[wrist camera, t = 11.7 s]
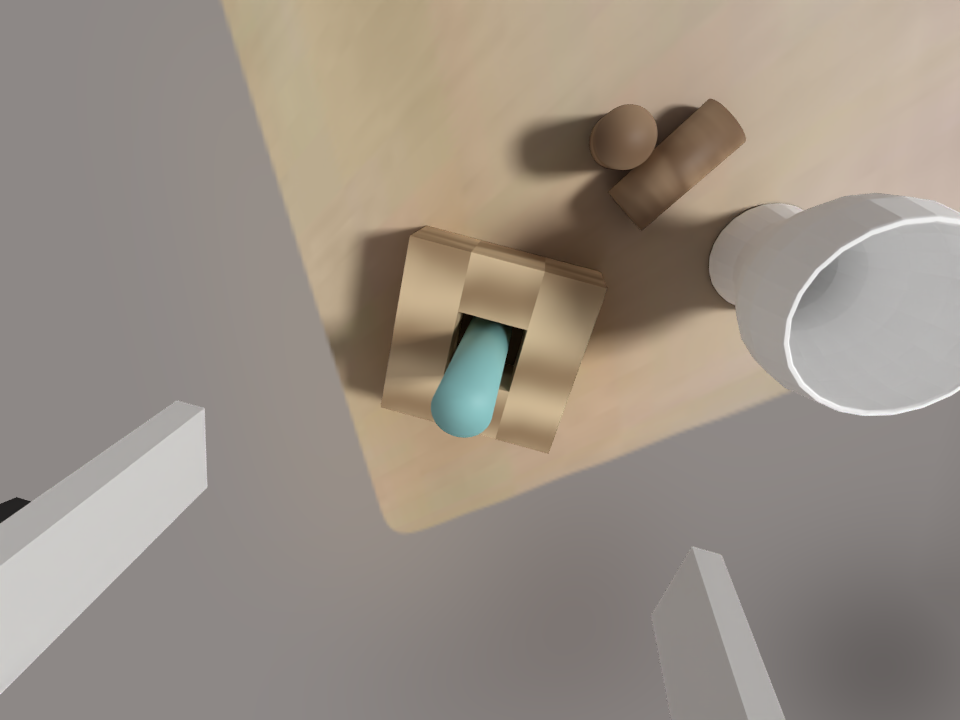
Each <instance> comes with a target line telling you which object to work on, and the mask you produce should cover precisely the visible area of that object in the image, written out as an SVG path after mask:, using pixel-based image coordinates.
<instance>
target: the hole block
mask: <svg viewBox="0 0 960 720" xmlns="http://www.w3.org/2000/svg"><path fill="white" fill-rule="evenodd" d="M606 291H607V286H606V284H605V281H604V279H603V276H602V274H601V272H599V271H595V270H591V269H588V268H584V267H580V266H576V265H573V264H569V263H565V262H561V261H558V260H554V259H550V258H546V257H543V256H539V255H535V254H531V253H527V252H524V251H520V250H516V249H512V248H509V247H505V246H501V245H497V244H494V243H490V242H486V241H482V240H479V239H475V238H471V237H467V236H464V235H460V234H456V233H452V232H448V231H445V230H441V229H437V228H433V227H430V226H426V227H424V228H422V229H420V230H419V231H417V232H415V233H414V234H412V235H410V237H409V243H408V249H407V255H406V260H405V266H404V272H403V278H402V284H401V290H400V296H399V302H398V307H397V313H396V319H395V325H394V331H393V337H392V343H391V348H390V354H389V360H388V366H387V372H386V378H385V384H384V390H383V395H382V401H381V407H382V408H386V409H389V410H393V411H397V412H400V413H404V414H407V415H411V416H415V417H418V418H422V419H425V420H429V421H432V422H435V421H434V419H433V417H432V413H431V401H432V398H433V396H434V394H435V392H436V390H437V388H438V386H439V384H440V382H441V380H442V378H443V376H444V374H445V372H446V370H447V368H448V366H449V364H450V362H451V360H452V358H453V356H454V354H455V352H456V346H457V341H458V337H459V333H460V328H461V324H462V320H463V316H464V313H465V314H469V315H473V316H476V317H480V318H484V319H488V320H491V321H495V322H499V323H502V324H506V325H510V326H513V327H517V328H521V329H524V333H523V336H522V340H521V343H520V346H519V350H518V353H517V357H516V360H515V364H514V366H513V365H509V364H505V365H504V369H503V373H502V377H501V382H500V386H499V390H498V394H497V399H496V403H495V407H494V411H493V416H492V419H491V422H490V424H489V426H488V427H487V428H486V429H485V430H484V431H483V432H482V433H480V434H479V435H483V436H486V437H490V438H494V439H497V440H501V441H504V442H508V443H512V444H515V445H519V446H522V447H526V448H530V449H533V450H537V451H540V452H544V453H547V454H549V451H550V448H551V445H552V442H553V440H554V437H555V434H556V431H557V428H558V426H559V423H560V420H561V417H562V414H563V412H564V409H565V406H566V403H567V400H568V398H569V395H570V392H571V389H572V386H573V384H574V381H575V378H576V375H577V372H578V370H579V367H580V364H581V361H582V358H583V356H584V353H585V350H586V347H587V344H588V342H589V339H590V336H591V333H592V330H593V328H594V325H595V322H596V319H597V316H598V314H599V311H600V308H601V305H602V302H603V300H604V297H605V294H606Z"/></svg>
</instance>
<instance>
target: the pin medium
mask: <svg viewBox="0 0 960 720" xmlns="http://www.w3.org/2000/svg"><path fill="white" fill-rule="evenodd" d="M745 141H746V137H745V134H744V132H743V130H742V128H741V126H740V124H739V123H738V122H737V120H736V119H735V118H734V116H733V115H732V114H731V113H730V112H729V111H728V110H727V109H726V108H725V107H724V106H723V105H722V104H720V103H719V102H717V101H716V100H713V99H708V100H707V101H706V102H705V103H704V104H703V105H702V106H701V107H700V108H699V109H698V110H696V111H695V112H694V113H693V114H692V115H691V116H690V117H689V118H688V119H687V120H686V121H684V122H683V123H682V124H681V125H680V126H679V127H678V128H677V129H676V130H675V131H674V132H673V133H671V134H670V135H669V136H668V137H667V138H666V139H665V140H664V141H663V142H662V143H661V144H659V145H658V146H657V147H656V148H655V149H654V150H653V152H652V153H651V155H650V156H649V157H648V158H647V160H646V161H644V162H643V163H642V164H640V165H639V166H637V167H635V168H633V169H632V170H631V171H630V172H629V173H628V174H627V175H626V176H625V177H624V178H623V179H621V180H620V181H619V182H618V183H617V184H616V185H615V186H614V187H613V188H612V189H611V190H610V191H608V193H609V194H610V195H611V197H612V198H613V199H614V200H615V202H616V203H617V204H618V205H619V206H620V207H621V209H622V210H623V211H624V212H625V213H626V214H627V216H628V217H629V218H630V219H631V220H632V221H633V222H634V223H635V225H636V226H637V227H638V228H639V229H640V230H641V231H642V230H643V229H644V228H645V227H647V226H648V225H649V224H650V223H651V222H652V221H654V220H655V219H656V218H657V217H658V216H659V215H661V214H662V213H663V212H664V211H665V210H666V209H668V208H669V207H670V206H671V205H672V204H673V203H675V202H676V201H677V200H678V199H679V198H680V197H682V196H683V195H684V194H685V193H686V192H687V191H689V190H690V189H691V188H692V187H693V186H694V185H696V184H697V183H698V182H699V181H700V180H701V179H703V178H704V177H705V176H706V175H707V174H708V173H710V172H711V171H712V170H713V169H714V168H715V167H717V166H718V165H719V164H720V163H721V162H722V161H724V160H725V159H726V158H727V157H728V156H729V155H731V154H732V153H733V152H734V151H735V150H736V149H738V148H739V147H740V146H741V145H742V144H743V143H745Z"/></svg>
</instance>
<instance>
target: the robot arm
mask: <svg viewBox="0 0 960 720" xmlns="http://www.w3.org/2000/svg"><path fill="white" fill-rule="evenodd" d="M206 488H207V467H206V437H205V410H204V408H202V407H199V406H195V405H191V404H188V403H184V402H181V401H178V400H177V401H175V402H174V403H173V404H171V405H170V406H168V407H167V408H165V409H164V410H163V411H161V412H160V413H158V414H157V415H155V416H154V417H152V418H151V419H150V420H148V421H147V422H145V423H144V424H142V425H141V426H140V427H138V428H137V429H135V430H134V431H132V432H131V433H130V434H128V435H127V436H125V437H124V438H123V439H121V440H119V441H118V442H117V443H115V444H114V445H112V446H111V447H109V448H108V449H107V450H105V451H104V452H102V453H101V454H99V455H98V456H97V457H95V458H94V459H92V460H91V461H89V462H88V463H86V464H85V465H84V466H82V467H81V468H79V469H78V470H76V471H75V472H74V473H72V474H71V475H69V476H68V477H66V478H65V479H63V480H62V481H61V482H59V483H58V484H56V485H55V486H53V487H52V488H50V489H49V490H48V491H46V492H45V493H43V494H42V495H41V496H39V497H38V498H36V499H35V500H33V501H32V502H31V501H27V500H24V499H21V498H17V497H16V498H14V499H12V500H9V501H7V502H4V503H1V504H0V694H1V693H2V692H3V691H4V690H5V689H6V688H7V687H8V686H9V685H10V684H11V683H12V682H13V681H14V680H15V679H16V678H17V677H18V676H19V675H20V674H21V673H22V672H23V671H24V670H25V669H26V668H27V667H28V666H29V665H30V664H31V663H32V662H33V661H34V660H35V659H36V658H37V657H38V656H39V655H40V654H41V653H42V652H43V651H44V650H45V649H46V648H47V647H48V646H49V645H50V644H51V643H52V642H53V641H54V640H55V639H56V638H57V637H58V636H59V635H60V634H61V633H62V632H63V631H64V630H65V629H66V628H67V627H68V626H69V625H70V624H71V623H72V622H73V621H74V620H75V619H76V618H77V617H78V616H79V615H80V614H81V613H82V612H83V611H84V610H85V609H86V608H87V607H88V606H89V605H90V604H91V603H92V602H93V601H94V600H95V599H96V598H97V597H98V596H99V595H100V594H101V593H102V592H103V591H104V590H105V589H106V588H107V587H108V586H109V585H110V584H111V583H112V582H113V581H114V580H115V579H116V578H117V577H118V576H119V575H120V574H121V573H122V572H123V571H124V570H125V569H126V568H127V567H128V566H129V565H130V564H131V563H132V562H133V561H134V560H135V559H136V558H137V557H138V556H139V555H140V554H141V553H142V552H143V551H144V550H145V549H146V548H147V547H148V546H149V545H150V544H151V543H152V542H153V541H154V540H155V539H156V538H157V537H158V536H159V535H160V534H161V533H162V532H163V531H164V530H165V529H166V528H167V527H168V526H169V525H170V524H171V523H172V522H173V521H174V520H175V519H176V518H177V517H178V516H179V515H180V514H181V513H182V512H183V511H184V510H185V509H186V507H188V506H189V505H190V504H191V503H192V502H193V500H195V499H196V498H197V497H198V496H199V495H200V494H201V493H202V492H203V490H205V489H206ZM651 619H652V624H653V629H654V634H655V639H656V645H657V650H658V655H659V660H660V665H661V670H662V676H663V681H664V686H665V692H666V697H667V702H668V707H669V712H670V718H671V720H785V717H784V715H783V712H782V710H781V707H780V704H779V702H778V699H777V697H776V694H775V691H774V689H773V687H772V684H771V681H770V679H769V676H768V673H767V671H766V668H765V666H764V663H763V661H762V658H761V655H760V653H759V650H758V648H757V645H756V643H755V640H754V637H753V635H752V632H751V630H750V627H749V624H748V622H747V619H746V617H745V614H744V611H743V609H742V607H741V604H740V601H739V599H738V596H737V593H736V591H735V588H734V586H733V583H732V580H731V578H730V575H729V573H728V570H727V568H726V565H725V562H724V560H723V557H722V555H721V554H717V553H714V552H710V551H707V550H703V549H700V548H696V547H693V546H692V547H691V549H690V551H689V552H688V554H687V556H686V557H685V559H684V560H683V562H682V564H681V566H680V567H679V569H678V571H677V572H676V574H675V576H674V577H673V579H672V581H671V582H670V584H669V586H668V587H667V589H666V591H665V593H664V594H663V596H662V597H661V599H660V601H659V603H658V604H657V606H656V607H655V609H654V611H653V612H652V614H651Z"/></svg>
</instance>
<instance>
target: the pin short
mask: <svg viewBox="0 0 960 720" xmlns="http://www.w3.org/2000/svg"><path fill="white" fill-rule="evenodd" d="M656 141H657V125H656V122H655V120H654V118H653V116H652V115H651V114H650V112H648V111H647V110H646V109H645V108H643V107H641V106H638V105H633V104H627V105H622V106H619V107H617V108H615V109H613V110H612V111H610V112H609V113H608V114H606V115H605V116H604V117H603V118H601V119H600V120H599V121H598V122H597V123H596V124H595V126H594V127H593V129H592V132H591V134H590V139H589V148H590V152H591V155H592V157H593V158H594V160H595V161H596V162H597V163H598V164H600V165H601V166H603V167H606V168H610V169H618V170H628V169H632V168H635V167H637V166H639V165H640V164H642V163H643V162H644V161H646V160H647V158H648V157H649V156H650V155H651V153H652V152H653V150H654V148H655V145H656Z"/></svg>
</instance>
